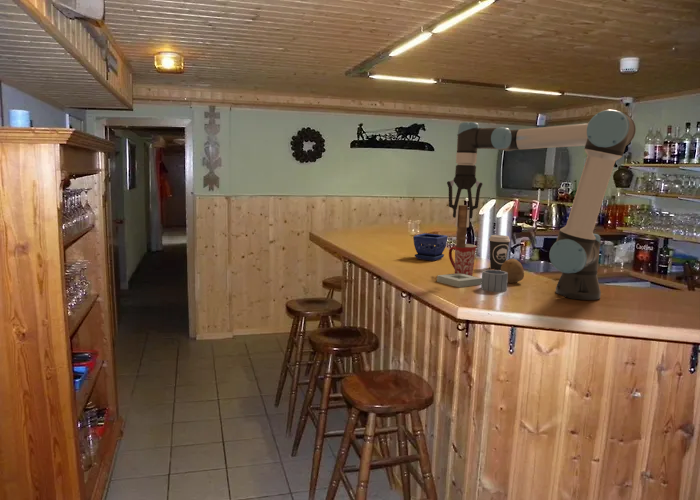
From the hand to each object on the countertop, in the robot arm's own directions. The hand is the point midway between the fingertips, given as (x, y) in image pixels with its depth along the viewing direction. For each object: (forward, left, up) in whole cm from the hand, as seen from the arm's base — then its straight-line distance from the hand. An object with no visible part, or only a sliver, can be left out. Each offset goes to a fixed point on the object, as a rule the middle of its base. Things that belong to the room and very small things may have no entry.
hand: (462, 226), depth 208 cm
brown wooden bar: (0, 0, -8) cm, 8 cm away
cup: (-14, -4, -23) cm, 27 cm away
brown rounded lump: (-8, -21, -23) cm, 32 cm away
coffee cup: (+18, -43, -23) cm, 52 cm away
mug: (+12, -13, -23) cm, 29 cm away
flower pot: (+52, -32, -23) cm, 65 cm away
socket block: (0, 0, -23) cm, 23 cm away
